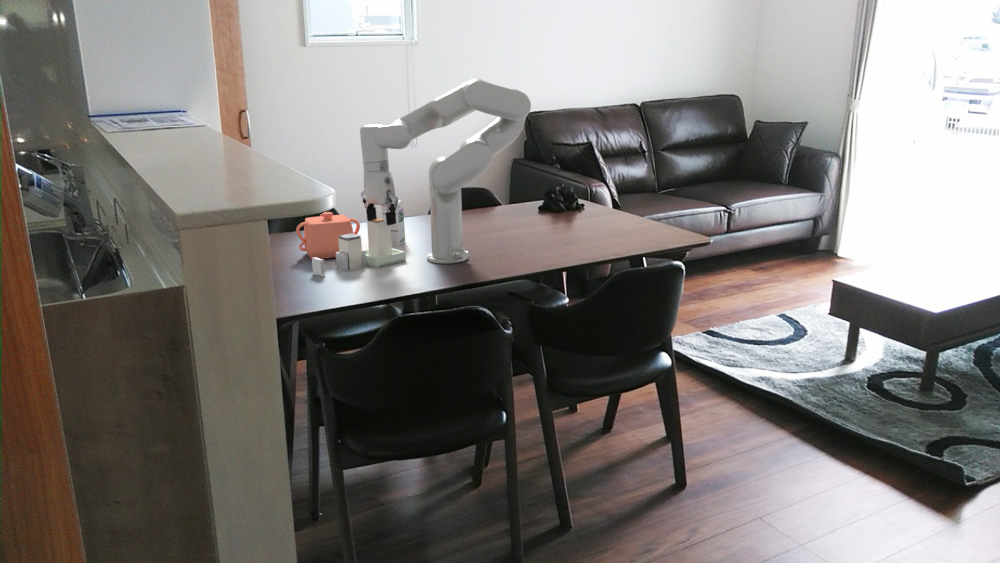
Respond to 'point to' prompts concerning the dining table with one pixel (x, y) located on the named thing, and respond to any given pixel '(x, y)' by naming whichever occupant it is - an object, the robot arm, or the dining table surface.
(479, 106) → the robot arm
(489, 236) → the dining table surface
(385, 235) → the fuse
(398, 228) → the syrup box
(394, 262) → the tray
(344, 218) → the teapot
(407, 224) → the dining table surface
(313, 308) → the dining table surface
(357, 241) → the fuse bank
